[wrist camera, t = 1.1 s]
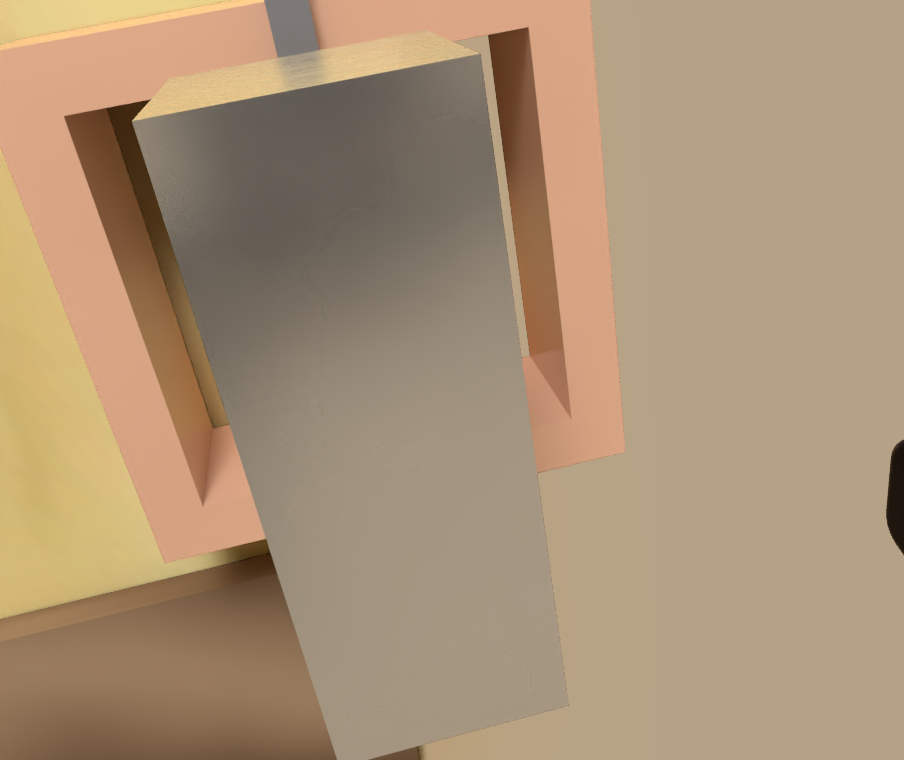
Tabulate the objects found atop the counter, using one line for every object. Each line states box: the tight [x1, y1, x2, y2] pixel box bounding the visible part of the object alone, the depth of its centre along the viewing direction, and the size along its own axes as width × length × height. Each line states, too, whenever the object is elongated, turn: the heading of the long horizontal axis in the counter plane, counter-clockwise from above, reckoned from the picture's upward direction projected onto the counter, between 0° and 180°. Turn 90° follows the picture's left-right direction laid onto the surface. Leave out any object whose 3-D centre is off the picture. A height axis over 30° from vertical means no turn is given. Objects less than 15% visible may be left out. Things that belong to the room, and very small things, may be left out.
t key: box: [132, 30, 569, 760], centre depth 13 cm, size 8×5×9 cm, turn 10°
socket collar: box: [0, 0, 625, 563], centre depth 15 cm, size 10×9×3 cm
